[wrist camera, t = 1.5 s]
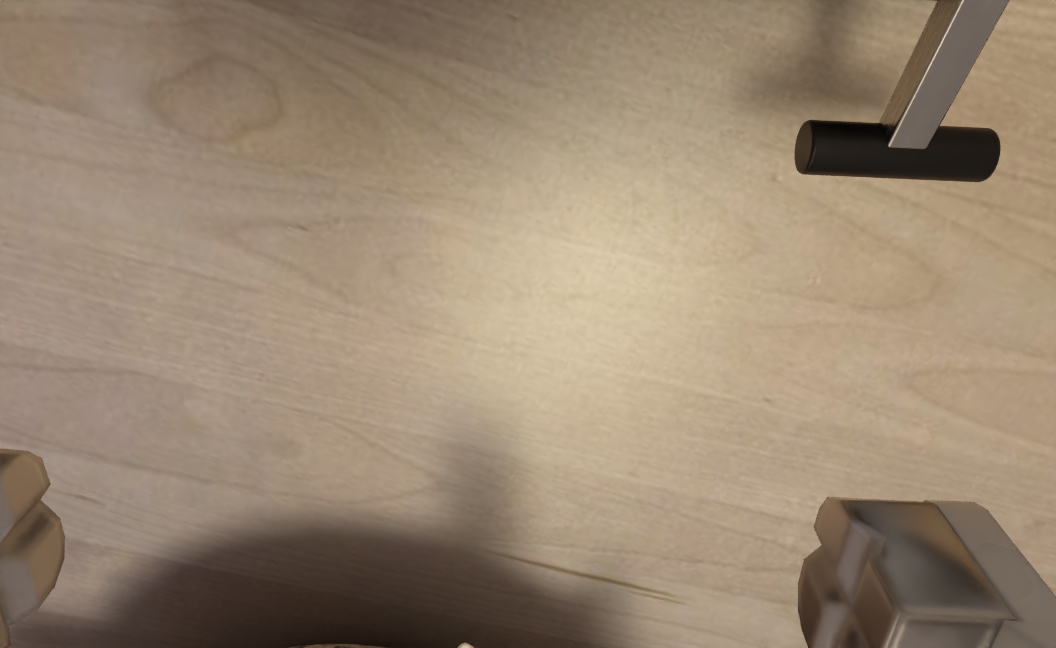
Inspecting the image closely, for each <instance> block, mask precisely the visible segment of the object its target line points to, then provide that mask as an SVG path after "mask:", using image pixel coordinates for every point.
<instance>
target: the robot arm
mask: <svg viewBox="0 0 1056 648" xmlns="http://www.w3.org/2000/svg"><path fill="white" fill-rule="evenodd" d="M49 486H50V481H49V478H48V475H47V472H46V469H45V466H44V463H43V460H42V458H41V457H39V456H37V455H35V454H33V453H31V452H29V451H22V450H10V449H0V648H9V647H10V646H11V643H10V632H9V626H11V625H13V624H14V623H16V622H18V621H19V620H21V619H23V618H25V617H26V616H28V615H30V614H31V613H33V612H35V611H36V610H38V609H39V608H40V606H41V605H42V603H43V602H44V601H45V599H46V598H47V596H48V595H49V594H50V592H51V591H52V589H53V588H54V587H55V584H56V581H57V578H58V575H59V573H60V570H61V567H62V564H63V561H64V553H65V535H64V531H63V527H62V524H61V520H60V517H58V516H57V515H56V514H55V513H54V512H53V511H52V510H51V509H50V508H49V507H48V506H46V505H45V504H44V503H43V502H42V501H41V498H42V497H43V495H44V494H45V492H46V491H47V489H48V487H49ZM814 529H815V531H816V533H817V536H818V538H819V540H820V542H821V544H822V545H821V546H820V547H819V548H818V549H816V550H815V551H814V552H813V553H811V554H810V555H809V556H808V557H806V558H805V559H804V562H803V566H802V570H801V574H800V578H799V582H798V612H799V618H800V623H801V628H802V632H803V634H804V637H805V640H806V643H807V646H808V648H1056V596H1055V595H1054V593H1053V592H1052V591H1051V590H1050V588H1049V587H1048V586H1047V585H1046V583H1045V582H1044V581H1043V579H1042V578H1041V577H1040V576H1039V574H1038V573H1037V572H1036V571H1035V569H1034V568H1033V567H1032V566H1031V564H1030V563H1029V562H1028V561H1027V559H1026V558H1025V557H1024V556H1023V554H1022V553H1021V552H1020V550H1019V549H1018V548H1017V547H1016V545H1015V544H1014V543H1013V542H1012V540H1011V539H1010V538H1009V537H1008V535H1007V534H1006V533H1005V532H1004V530H1003V529H1002V528H1001V527H1000V525H999V524H998V523H997V521H996V520H995V519H994V518H993V516H992V515H991V514H990V513H989V511H988V510H987V509H985V508H984V507H982V506H980V505H978V504H977V503H975V502H961V501H929V500H925V501H923V502H917V501H898V500H879V499H859V498H840V497H827V498H826V500H825V501H824V502H823V504H822V505H821V506H820V508H819V511H818V514H817V517H816V521H815V524H814Z"/></svg>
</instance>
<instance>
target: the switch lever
mask: <svg viewBox="0 0 1056 648" xmlns="http://www.w3.org/2000/svg"><path fill="white" fill-rule="evenodd" d="M1008 2H1009V0H938V1H937V3H936V5H935V7H934V9H933V11H932V13H931V15H930V17H929V19H928V21H927V24H926V26H925V28H924V30H923V32H922V34H921V36H920V38H919V40H918V42H917V44H916V46H915V49H914V51H913V53H912V55H911V57H910V59H909V61H908V63H907V65H906V67H905V69H904V71H903V74H902V76H901V78H900V80H899V82H898V84H897V86H896V88H895V90H894V92H893V94H892V96H891V99H890V101H889V103H888V105H887V107H886V109H885V111H884V113H883V115H882V117H881V119H880V121H879V123H863V122H841V121H819V120H808V121H806V122H804V123H803V125H802V126H801V128H800V130H799V133H798V136H797V139H796V145H795V165H796V168H797V171H798V172H799V173H801V174H808V175H830V176H852V177H874V178H897V179H919V180H941V181H963V182H981V181H984V180H986V179H988V178H989V177H990V176H991V175H992V173H993V172H994V170H995V168H996V166H997V164H998V160H999V156H1000V140H999V137H998V135H997V133H996V132H995V131H993V130H992V129H989V128H973V127H951V126H940V124H941V122H942V120H943V118H944V117H945V115H946V113H947V111H948V109H949V108H950V106H951V104H952V102H953V101H954V99H955V97H956V95H957V93H958V92H959V90H960V88H961V86H962V84H963V83H964V81H965V79H966V77H967V75H968V74H969V72H970V70H971V68H972V66H973V65H974V63H975V61H976V59H977V58H978V56H979V54H980V52H981V50H982V49H983V47H984V45H985V43H986V41H987V40H988V38H989V36H990V34H991V32H992V31H993V29H994V27H995V25H996V24H997V22H998V20H999V18H1000V16H1001V15H1002V13H1003V11H1004V9H1005V7H1006V6H1007V4H1008Z"/></svg>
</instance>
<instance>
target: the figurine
mask: <svg viewBox="0 0 1056 648" xmlns="http://www.w3.org/2000/svg"><path fill="white" fill-rule="evenodd" d="M458 648H474V647H472V646H471V645H469V644H467V643H463V644H461V645H460V646H459V647H458Z"/></svg>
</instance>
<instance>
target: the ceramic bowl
mask: <svg viewBox="0 0 1056 648" xmlns="http://www.w3.org/2000/svg"><path fill="white" fill-rule="evenodd" d="M289 648H388V647H380V646H372V645H358V644H319V645H306V646H295V647H289Z"/></svg>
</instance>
